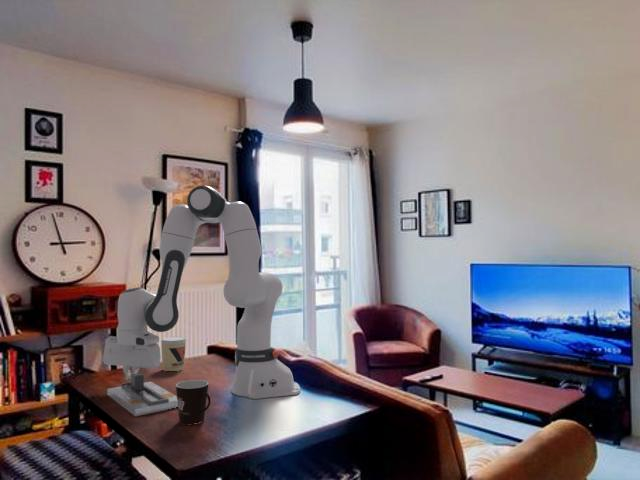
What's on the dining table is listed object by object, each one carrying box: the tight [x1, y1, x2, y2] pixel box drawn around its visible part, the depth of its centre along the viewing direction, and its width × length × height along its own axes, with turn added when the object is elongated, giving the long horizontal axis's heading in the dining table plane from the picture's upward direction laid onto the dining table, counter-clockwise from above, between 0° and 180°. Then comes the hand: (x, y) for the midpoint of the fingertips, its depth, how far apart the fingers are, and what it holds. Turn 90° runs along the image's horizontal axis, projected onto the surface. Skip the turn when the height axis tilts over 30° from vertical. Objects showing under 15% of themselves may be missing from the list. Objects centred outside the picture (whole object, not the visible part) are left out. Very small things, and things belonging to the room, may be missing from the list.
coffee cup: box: [160, 336, 187, 372], centre depth 191 cm, size 9×9×12 cm
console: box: [107, 381, 178, 417], centre depth 151 cm, size 26×14×3 cm, turn 39°
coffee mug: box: [175, 379, 211, 424], centre depth 132 cm, size 12×9×10 cm
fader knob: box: [130, 372, 145, 391], centre depth 156 cm, size 4×3×4 cm
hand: (131, 379), depth 161 cm, fingers closed
